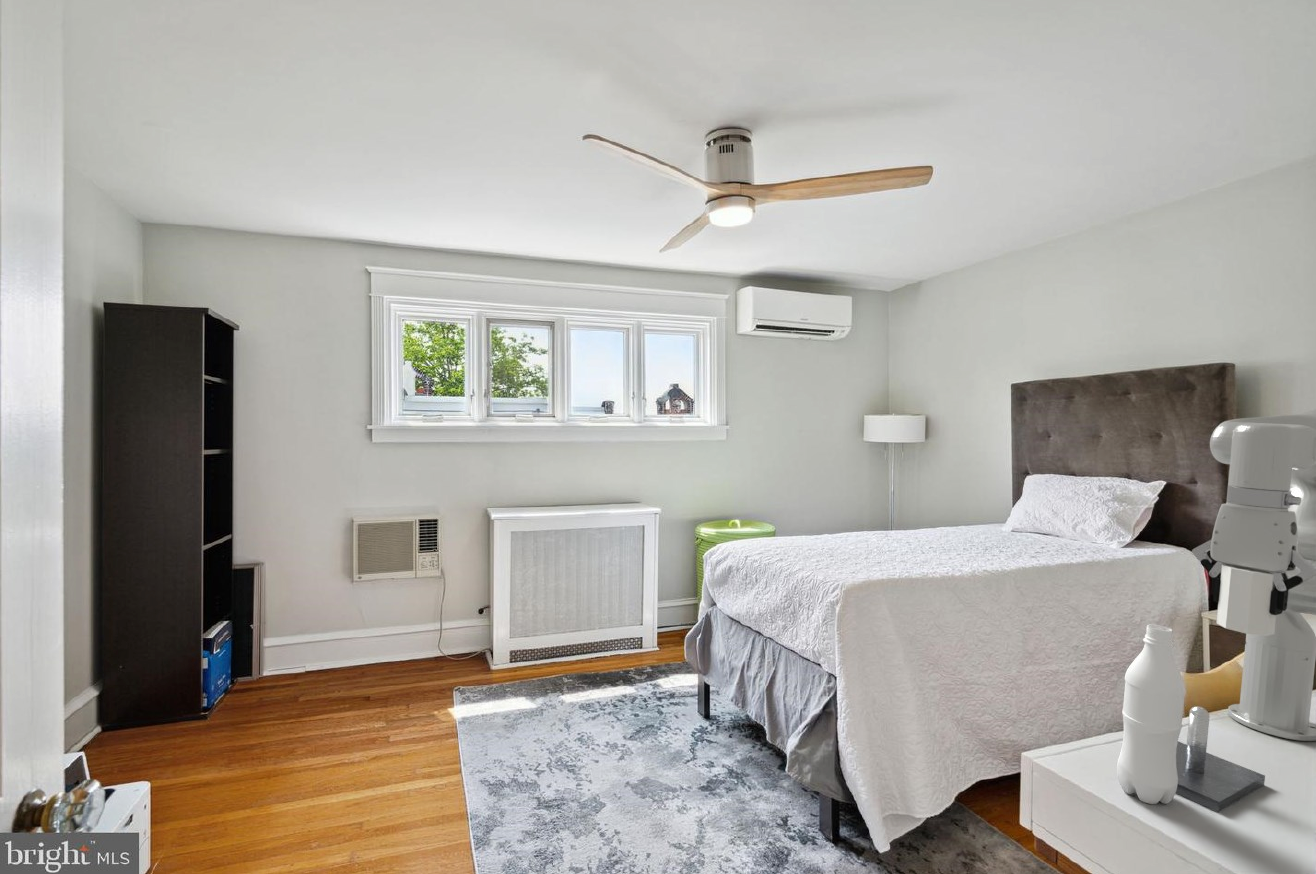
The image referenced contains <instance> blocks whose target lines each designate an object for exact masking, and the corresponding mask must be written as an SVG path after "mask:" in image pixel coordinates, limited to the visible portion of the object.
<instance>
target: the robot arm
mask: <svg viewBox="0 0 1316 874" xmlns="http://www.w3.org/2000/svg"><path fill="white" fill-rule="evenodd" d="M1209 450H1210V452H1211V455H1212V457H1213V458H1214V460H1216V461H1218V462H1219V463H1221V464H1225V465H1229V469H1228V481H1227V482H1228V483H1227V491H1226V503H1221V505H1220V507H1219V510H1218V513H1217V516H1216V519H1215V523H1214V527H1213V531H1212V536H1211V539H1209V540H1208V541H1206V542H1204V543H1202V544H1200V545H1198V546H1196V547H1194V548H1193V549H1192V550H1191V553H1192V554H1193V556H1195V558H1196V559H1197V560H1198V561H1199V562H1200V565H1201V566H1202V567H1203V568H1204V570H1206V571H1207V572H1208V574H1209V576H1210V577H1211V586H1210V587H1211V588H1210V594H1211V596H1213V598H1212V600H1213V602H1216V603H1218V601H1219V593H1220V582H1221V580H1220V579H1221V568H1222V565H1234V566H1239V567H1244V568H1249V569H1255V570H1260V571H1266V572H1269V573H1270V574H1273V582H1274V584H1275V589H1274V590H1272V591H1271V599H1270V609H1269V613H1271V614H1272V615H1276V622H1275V632H1274V634H1273V635H1269V636H1261V635H1252V634H1245V643H1244V644H1245V645H1244V655H1243V665H1242V677H1241V686H1240V696H1239V698H1240V699H1239V703H1232V704H1231V705H1229V706H1228V709H1227V713H1228V715H1229V717H1231V718H1232V720H1234V721H1236V722H1238V723H1240V724H1241V725H1243V726H1245V727H1248V728H1250V729H1253V730H1256V731H1259V732H1261V733H1263V734H1267V735H1270V736H1274V737H1278V738H1284V739H1287V740H1293V741H1300V742H1312V741H1316V725H1314V724H1313V723H1311V722H1310V717H1311V706H1312V699H1313V698H1312V696H1313V688H1314V676H1315V668H1316V667H1315V666H1316V633H1315V631H1314V630H1313V628H1312V627H1311V625H1310V624H1309V623H1308V621H1307V620H1306V618H1305V617H1304V616H1303V615H1302V614H1306V615H1314V616H1316V409H1315V408H1314V409H1306V410H1302V411H1299V412H1296V413H1291V414H1277V415H1269V416H1257V417H1244V418H1242V417H1241V418H1234V419H1229V420H1224V421H1223V422H1221V423H1219V425H1218V426H1216V427H1215V429H1214V430H1213V432H1212V434H1211V436H1210V439H1209ZM1209 551H1210V552H1209ZM1208 552H1209V553H1210V556H1209V555H1208ZM1214 561H1215V562H1216V563H1215V562H1214Z"/></svg>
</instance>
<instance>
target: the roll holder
mask: <svg viewBox="0 0 1316 874" xmlns="http://www.w3.org/2000/svg"><path fill="white" fill-rule="evenodd" d="M1188 714H1189V715H1188V727H1187V736H1186V737H1187V738H1186V743H1184V742H1181V741H1179V740H1178V743H1177V749H1176V768H1177V775H1178V784H1177V790H1176V793H1175V794H1176V795H1180V796H1181V797H1183V798H1185V799H1188V800H1190V801H1191V802H1195V803H1197V804H1199V805H1201V806H1203V807H1205V808H1208V809H1210V810H1212V811H1215V812H1216V813H1219V812H1221V811H1223V810H1225V809H1227V808H1228V807H1230V806H1231V805H1233V804H1235V803H1237V802H1238V801H1240V800H1241V799H1243V798H1245V797H1246V796H1248V795H1250V794H1252V793H1254V792H1255V791H1257V790H1258V789H1260V788H1262V787H1264V786H1265V780H1266V775H1265V774H1261V773H1259V772H1257V771H1255V770H1252V769H1249V768H1247V767H1244V766H1242V765H1239V764H1236V763H1234V762H1231V761H1229V760H1227V759H1223V758H1221V757H1219V756H1217V755H1214V754H1211V753H1209V752H1207V746H1208V739H1209V738H1208V737H1209V727H1210V726H1209V725H1210V713H1209V711H1207V710H1206V708H1204V707H1202V706H1192V707H1191V708H1190V710H1189V713H1188Z"/></svg>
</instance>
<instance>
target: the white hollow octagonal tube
mask: <svg viewBox="0 0 1316 874" xmlns="http://www.w3.org/2000/svg"><path fill="white" fill-rule="evenodd" d="M1220 580H1221V582H1220V593H1219V601H1218V602H1217V603H1218V604H1217V614H1216V625H1219V626H1220V627H1222V628H1224V629H1225V630H1230V631H1233V632H1237V633H1238V632H1239V633H1242V634H1245V635H1246V634H1252V635H1261V636H1269V635H1273V634H1274V632H1275V622H1276V615H1272V614H1271V613H1269V609H1270V599H1271V591H1272V590H1274V589H1275V584H1274V582H1273V574H1270V573H1269V572H1266V571H1260V570H1255V569H1249V568H1244V567H1239V566H1234V565H1222V568H1221V579H1220Z"/></svg>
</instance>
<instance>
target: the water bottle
mask: <svg viewBox="0 0 1316 874" xmlns="http://www.w3.org/2000/svg"><path fill="white" fill-rule="evenodd" d="M1145 629H1146V630H1145V631H1146V632H1145V633H1146V634H1145V635H1144V637H1143V640H1142V641H1143V642H1144V646H1143V648H1142V650H1141V652H1140V653H1139V654H1138V655H1137V656H1136V657H1135V659H1134V660H1133V661H1132V662H1131V664H1130V665H1129V667H1128V668H1127V670H1126V671H1125V674H1124V675H1125V676H1124V681H1125V685H1124V694H1123V695H1124V696H1123V705H1122V709H1121V710H1122V711H1121V713H1122V719H1123V736H1122V744H1121V750H1120V753H1119V756H1118V759H1117V762H1116V775H1117V779H1118V782H1119V785H1120V786H1121V789H1122V790H1123V791H1124V792H1125V793H1126V794H1129V795H1132V794H1134V793H1136V794H1137V797H1138V798H1139V800H1140V801H1142V802H1144V803H1146V804H1150V805H1156V804H1158V803H1159V802H1160V803H1162V804H1164V805H1165V804H1169V803H1170V802H1171V801H1172V800H1173V799H1174V797H1175V795H1176V794H1177V793H1176V790H1177V784H1178V775H1177V768H1176V749H1177V743H1178V741H1179V738H1180V734H1181V730H1182V728H1183V718H1184V717H1183V714H1184V704H1185V696H1186V693H1187V691H1186V683H1185V680H1184V677H1183V675H1182V674H1181V673H1182V672H1181V671H1180V669H1179V667H1178V665H1177V664H1176V662H1175V659H1174V657H1173V653H1172V649H1173V648H1174V646H1175V645H1174V643H1173V642H1174V641H1173V640H1172V639H1173V629H1172V628H1169V627H1167V626H1164V625H1159V624H1150V623H1149V624H1147V625H1146V628H1145Z"/></svg>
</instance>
